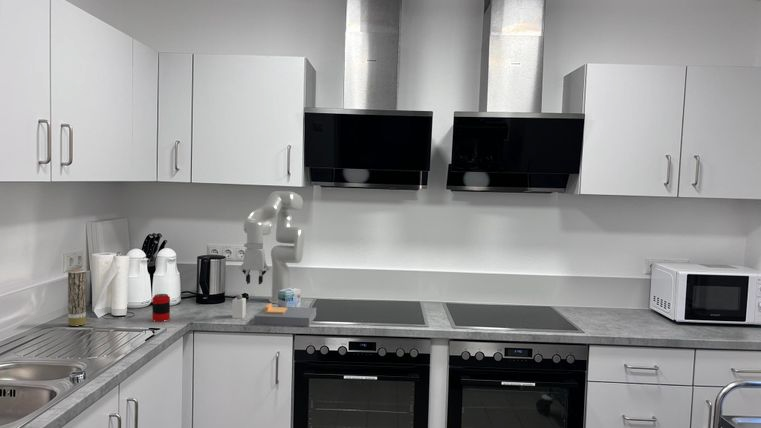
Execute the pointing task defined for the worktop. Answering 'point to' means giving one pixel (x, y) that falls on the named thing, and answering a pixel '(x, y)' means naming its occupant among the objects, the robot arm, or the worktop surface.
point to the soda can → (161, 307)
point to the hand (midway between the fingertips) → (254, 283)
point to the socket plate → (286, 317)
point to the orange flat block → (274, 309)
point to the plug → (239, 307)
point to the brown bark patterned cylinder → (76, 297)
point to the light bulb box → (289, 297)
